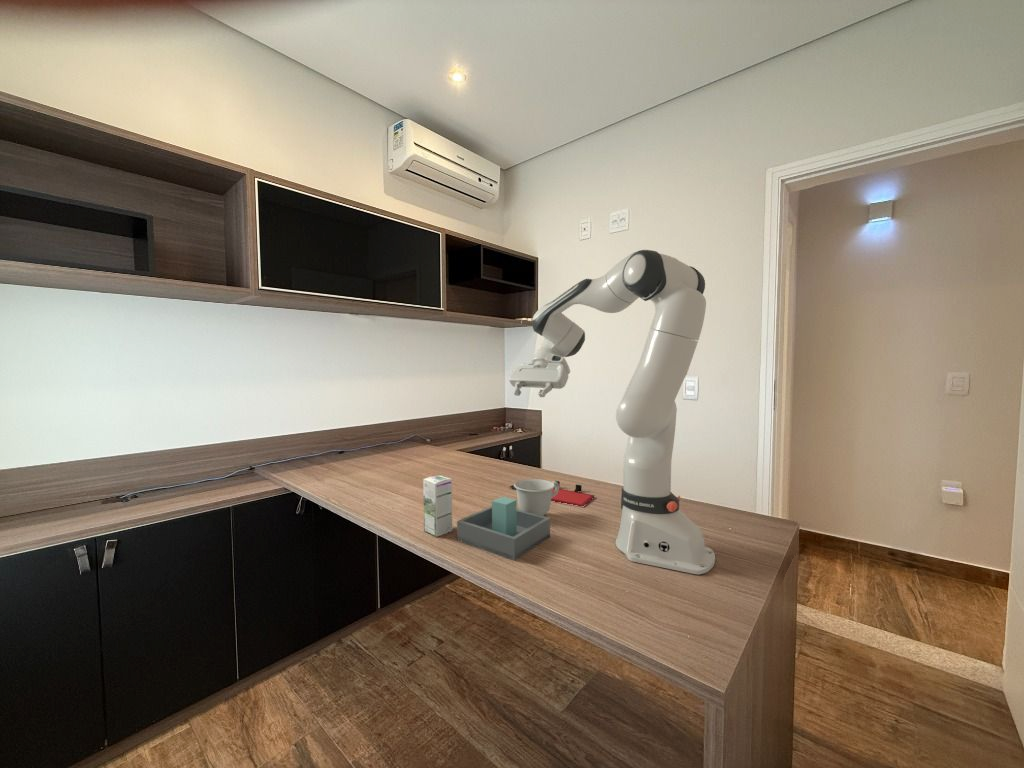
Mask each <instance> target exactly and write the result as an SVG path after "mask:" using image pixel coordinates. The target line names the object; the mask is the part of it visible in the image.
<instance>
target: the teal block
mask: <svg viewBox="0 0 1024 768" xmlns="http://www.w3.org/2000/svg"><path fill="white" fill-rule="evenodd" d="M517 505H518V499H514V498H510V497H506V496H501V497H497V498H496V499H493V500H492V501H491V506H492V530H494V531H497V532H500V533H503V534H506V535H510V536H514V535H516V512H517V510H518V509H517Z"/></svg>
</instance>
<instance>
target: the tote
mask: <svg viewBox="0 0 1024 768" xmlns="http://www.w3.org/2000/svg"><path fill="white" fill-rule="evenodd" d="M549 538H551V518H550V517H548V516H545V515H544V516H540V515H536V514H532V513H529V512H525V511H521V510H520V509H517V512H516V535H514V536H510V535H506V534H503V533H500V532H497V531H494V530H492V505H490V506H488V507H486V508H484V509H482V510H479V511H477V512H475V513H472V514H470V515H468V516H465V517H464V518H460V519H458V520H456V540H457V541H458V540H459V541H458V542H460V541H462V542H461V543H463V542H464V544H466V543H467V544H466V545H469V546H472V545H473V546H472V547H475V548H477V547H478V549H480V548H481V550H483V549H484V550H483V551H486V552H489V553H491V552H492V554H495V555H498V556H500V557H503V558H506V559H509V560H511V561H516V560H517V559H520V557H522V556H523V555H525V554H526V553H528V552H530V551H531V550H533V549H534V548H536V547H538V545H541V544H542V543H543V542H545V541H547V540H548V539H549Z"/></svg>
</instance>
